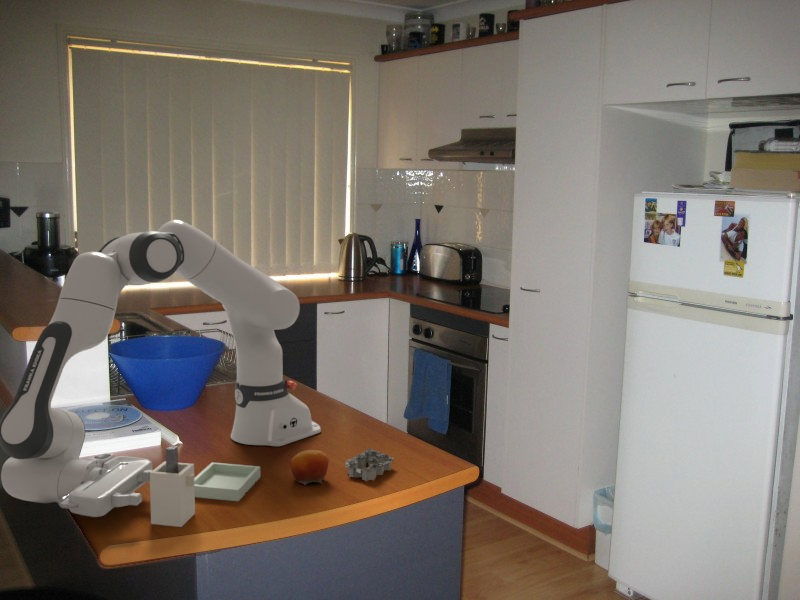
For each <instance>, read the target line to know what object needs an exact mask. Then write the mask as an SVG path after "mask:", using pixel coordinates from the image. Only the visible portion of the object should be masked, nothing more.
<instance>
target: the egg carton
mask: <svg viewBox="0 0 800 600" xmlns="http://www.w3.org/2000/svg"><path fill="white" fill-rule="evenodd" d="M394 458H395V457H394V456H391V457H390V456H389V455H388V453H384V452H380V451H378V450H374V449H372V448H370V447H369V448H367V449H366V450H365V451H363V452H361V453H358V454H357V455H356V456H353V457H352V458H349V459H346V460H345V464H344V466H345V467H346V468H347V471H346V472H347V475H348V474H349V475H348V476H349V478H350V477H355V478H359V477H362V478H361V481H362V480H365V481H364V482H368V481H367V480H373V481H375V480H376V478H377V476H376V475H382V476H383V475H384V472H389V470H390V471H391V470H392V467H391V465H392V463H393V462H394ZM366 463H368V464H366ZM367 465H368V467H367ZM384 470H385V471H384ZM386 470H388V471H386ZM374 479H375V480H374Z"/></svg>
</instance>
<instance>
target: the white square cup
mask: <svg viewBox="0 0 800 600" xmlns="http://www.w3.org/2000/svg"><path fill="white" fill-rule="evenodd" d="M194 478H195V463H188V462H178V474H177V473H166V460H165V461H163V462H162V463H160V464H159V465H158V466H157V467H155V468H154V469H153V471H151V472H150V481H149V493H150V494H149V496H150V500H149V501H150V502H149V503H150V524H151V525H158V526H166V527H168V526H169V527H178V528H182V527H183V526H184V525H186V523H188V521H189V520H190V519H191V518H192V517H193V516H194V515H196V502H195V501H196V499H195V498H196V497H195V486H194Z"/></svg>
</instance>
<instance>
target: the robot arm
mask: <svg viewBox="0 0 800 600" xmlns="http://www.w3.org/2000/svg"><path fill="white" fill-rule="evenodd" d="M175 273H176V274H177V275H179V276H180V277H181V278H183V279H184V280H186V281H187V282H189V283H190V284H191V285H193V286H194V287H196V288H197V289H199V290H200V291H202V292H203V293H204V294H205V295H207V296H209V297H210V298H212V299H214V300H216V301H218V302H219V303H221V305H222V307H223V309H224V311H225V313H226V315H227V318H228V320H229V324H230V328H231V332H232V336H233V341H234V346H235V353H236V380H235V382H234V383H235V384H234V400H235V413H234V421H233V426H232V430H231V433H230V439H231V440H232V441H234V442H237V443H239V444H243V445H252V446H271V447H282V446H285V445H288V444H291V443H293V442H297V441H299V440H302V439H305V438H308V437H311V436H314V435H316V434H319V433H321V432H322V431H321V430H322V429H321V426H320V425H319V424H318V423H317V422H315V421H313V420H312V413H311V411H310V408H309V407H308V406H307V404H306V403H304V402H302V401H301V400H300V399H298V398H297V397H296V396H294V395H293V394H291V393H290V391H289V390H291V391H294V390H296V388H297V386H298V383H296V381H292V380H286V379H284V378H283V371H284V370H283V368H284V367H283V348H282V346H281V344H280V342H279V340H278V338H277V336H276V333H275V331H276V330H285V329H288V328H290V327H291V326H292V325H294V324H295V322H296V321H297V319H298V318H299V314H300V309H301V308H300V306H301V305H300V301H299V298H298V296H297V295H296V294H295V293H294V292H293V291H291V290H290V289H289V288H287V287H285V286H284V285H282V284H281V283H279V282H278V281H276V280H275V279H273V278H272V277H270V276H269V275H267V274H265V273H264V272H262V271H261V270H259V269H257V267H256V268H255V267H254V266H252V265H251V264H249V263H247V262H246V261H243V260H242V259H241V258H239V257H238V256H236V255H235V254H233V253H232V252H231V251H229V249H227V248H226V247H225V246H223V245H222V244H220V243H219V242H218V241H216V240H215V239H214V238H213V237H211V236H210V235H208V234H207V233H205V232H204V231H203V230H201V229H199V228H197V227H195V226H194V225H191V224H190V223H187V222H186V221H183V220H181V219H172V220H169V221H167V222H165V223H163V224H162V225H161V226H160V227H159V228H158V229H157V231H156V230H150V231H144V232H143V231H142V232H131V233H129V234H126V235H123V236H117V237H114V238H112V239H110V240H109V241H107V242H106V243H105V244H104V245H103V246H102V247H101V248H100V250H98V251H88V252H83V253H81V254H79V255H77V256H76V258H74V260H73V262H72V264H71V266H70V268H69V270H68V273H66V276H65V279H64V282H63V284H62V288H61V290H60V294H59V297H58V301H57V304H56V306H55V310H54V313H53V315H52V317H51V319H50V322H49V323H48V325H46V327H44V329H43V330H42V331H41V333H40V335H39V336H38V339H37V341H36V343H35V346H34V348H33V350H32V353H31V355H30V358H29V359H28V363H27V365H26V367H25V371H24V373H23V375H22V378H21V381H20V383H19V386H18V388H17V390H16V393H15V396H14V397H13V399H12V401H11V403H10V404H9V406H8V407H7V408H6V409H5V412H4V413H3V414H2V416H1V417H0V447H1V449H2V451H3V452H4V453H5V454H6V455H8V456H9V458H7V459H6V460H5V462H4V463H3V465H2V468H1V473H0V480H1V484H2V487H3V489H4V490H5V492H6V493H7V494H8V495H10V496H11V497H13V498H16V499H19V500H22V501H27V502H32V503H40V504H51V503H57V504H58V505H59V507H60V508H61V509H68V510H69V511H70V512H71V513H72V514H76V515H80V516H85V517H91V518H98V517H99V518H100V517H103V516H106V514H108V513H109V512H110V511H111V510H112V509H114V508H121V507H125V506H139V504H141V503H142V502H143V495H142V493H139V492H138V493H137V492H135V491H137V490H138V489H139V488H141V487H142V486H143V485H144V484H145V483H150V472H151V471H153V470H154V469H153V462H152V461H151V460H150V459H148V458H143V457H137V456H136V457H135V456H126V455H120V456H119V455H118V456H116V454H115V453H113V452H106V453H105V452H104V453H102V454H98V455H95V456H93V457H91V456H90V457H85V458H80V456H81V454H82V453H81V452H82V449H83V445H84V442H85V437H86V428H85V427H86V426H85V423H84V421H83V420H82V418H81V416H80V415H78V414H77V413H76V412H74V411H71V410H66V409H61V408H52V401H53V397H54V395H55V393H56V389H57V387H58V384H59V382H60V378H61V377H62V373H63V370H64V368H65V366H66V364H67V363H68V362H69V360H71V359H72V357H74V356H75V355H77V354H79V353H81V352H84V351H88V350H91V349H94V348H95V347H97V346H99V345H100V344H102V343H103V342H105V340H106V339H107V337H108V335H109V333H110V331H111V329H112V327H113V322H114V319H115V315H116V311H117V306H118V300H119V297H120V296H121V295H120V294H121V293H122V291H123V290H124V289H125V287H126V286H144V285H146V284H151V283H161V282H163V281H164V280H167V279H168V278H170V277H172V276H173V274H175Z"/></svg>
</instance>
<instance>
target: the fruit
mask: <svg viewBox="0 0 800 600" xmlns="http://www.w3.org/2000/svg"><path fill="white" fill-rule="evenodd" d="M329 463H330V461H329V457H328V455H327V454H326V453H325V452H323V451H321V450H317V449H305V450H303V451H300V452H298V453H297V454H295V455H294V456H293V457H292V458H291V460H290V469H291V473H292V476H293V478H294V480H295V481H296V482H297V483H300V484H302V485H304V486H306V485H308V484H310V483H319V484H322V486H324V484H323V480H324V479H325V476H326V475H327V472H328V468H329Z"/></svg>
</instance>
